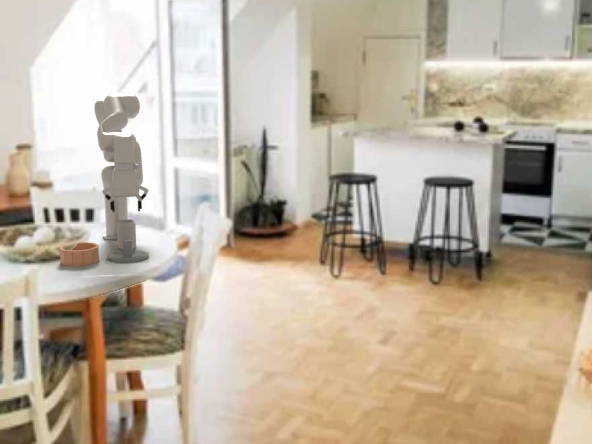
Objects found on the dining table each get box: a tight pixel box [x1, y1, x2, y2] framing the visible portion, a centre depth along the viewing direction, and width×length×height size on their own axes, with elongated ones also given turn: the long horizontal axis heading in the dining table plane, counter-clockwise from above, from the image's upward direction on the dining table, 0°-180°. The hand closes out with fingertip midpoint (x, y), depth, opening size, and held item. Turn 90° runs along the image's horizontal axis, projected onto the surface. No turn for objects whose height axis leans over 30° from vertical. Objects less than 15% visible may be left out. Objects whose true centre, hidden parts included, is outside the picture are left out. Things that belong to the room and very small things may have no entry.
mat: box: [105, 251, 150, 265], centre depth 286 cm, size 16×16×1 cm
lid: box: [106, 239, 150, 264], centre depth 285 cm, size 16×16×7 cm
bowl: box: [59, 241, 100, 267], centre depth 280 cm, size 14×14×6 cm
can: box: [116, 218, 137, 251], centre depth 300 cm, size 8×8×12 cm
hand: (126, 211), depth 282 cm, fingers open, 9 cm apart
